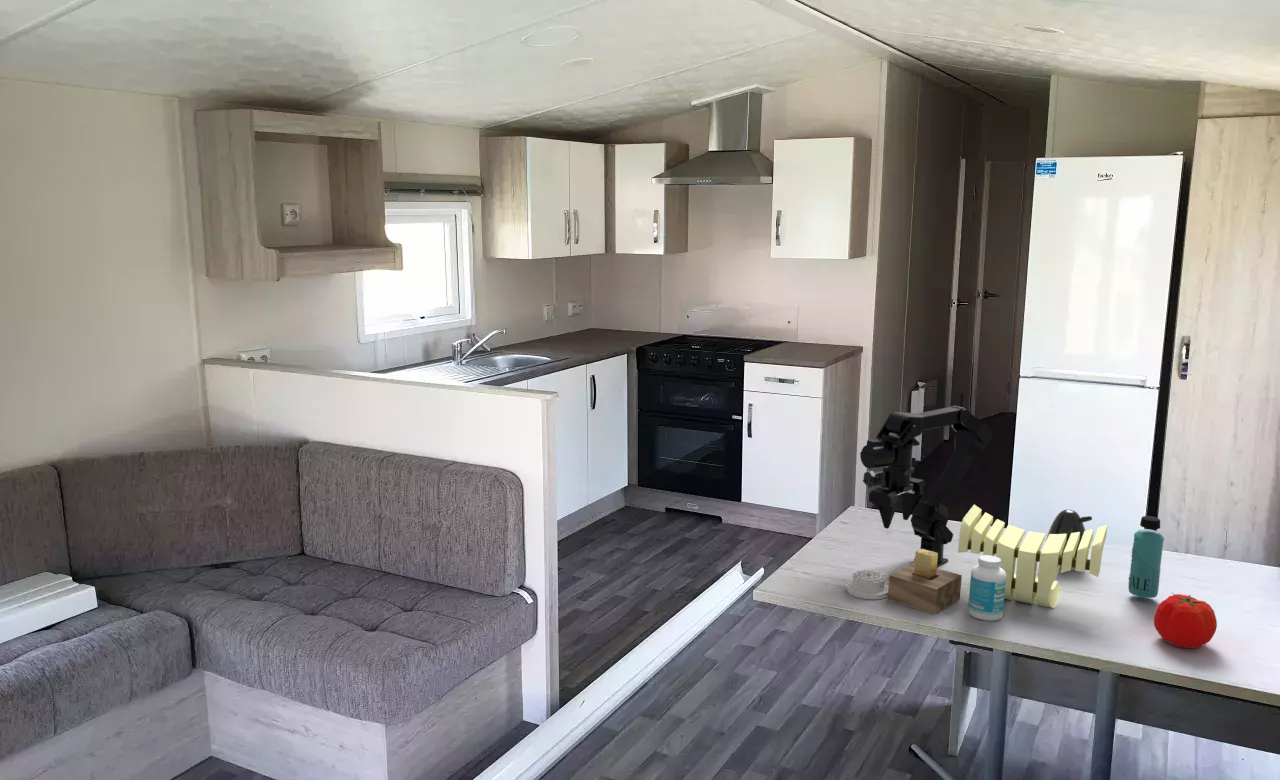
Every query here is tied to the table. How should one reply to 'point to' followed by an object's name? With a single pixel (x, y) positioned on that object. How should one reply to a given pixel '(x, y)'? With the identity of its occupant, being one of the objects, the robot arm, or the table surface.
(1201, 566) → the table surface
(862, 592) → the mechanical component
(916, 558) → the brushed gold block
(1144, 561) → the beverage bottle
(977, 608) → the pill bottle
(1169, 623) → the tomato
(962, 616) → the table surface
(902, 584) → the slotted wooden block
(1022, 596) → the slatted curved stool
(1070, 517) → the pump dispenser
